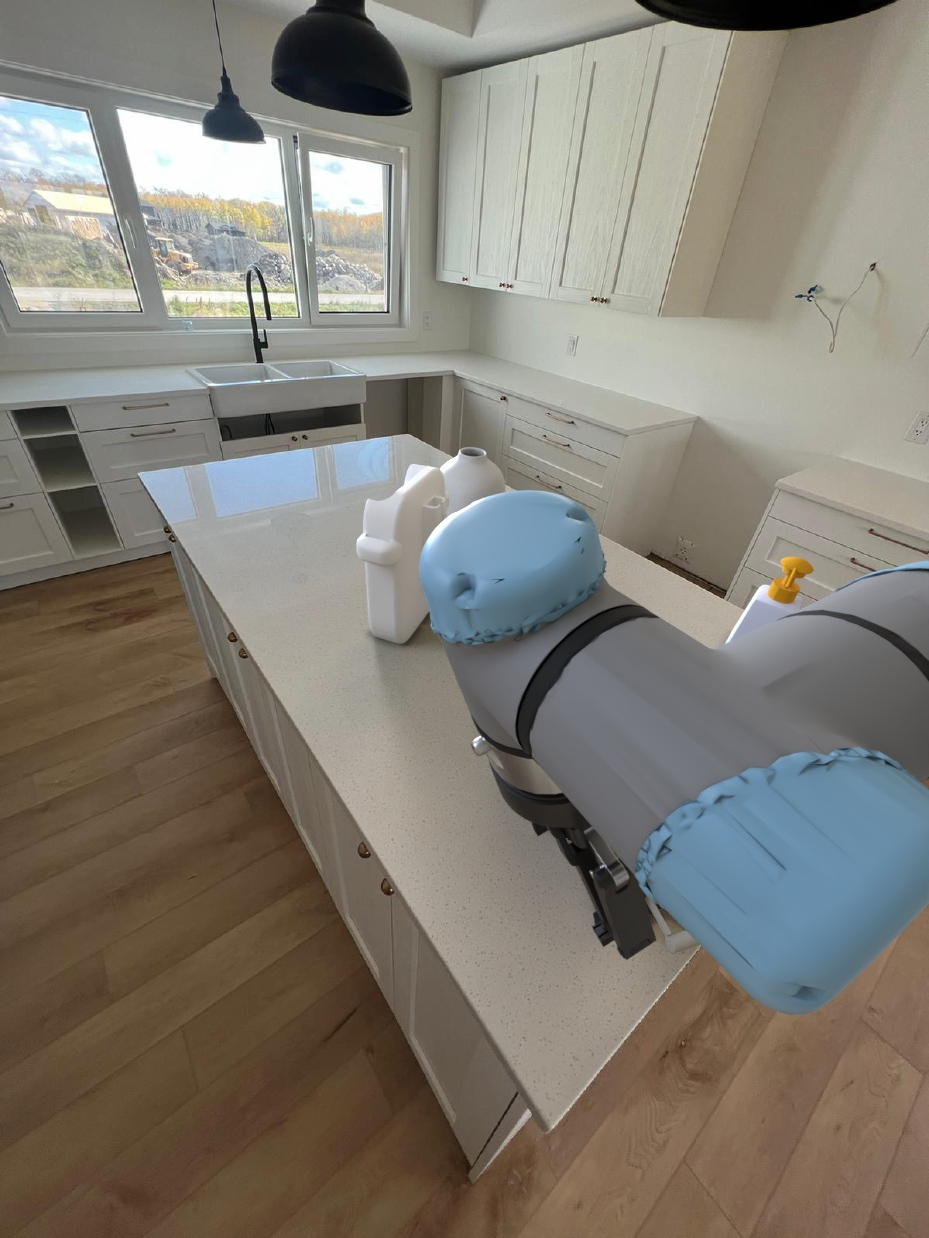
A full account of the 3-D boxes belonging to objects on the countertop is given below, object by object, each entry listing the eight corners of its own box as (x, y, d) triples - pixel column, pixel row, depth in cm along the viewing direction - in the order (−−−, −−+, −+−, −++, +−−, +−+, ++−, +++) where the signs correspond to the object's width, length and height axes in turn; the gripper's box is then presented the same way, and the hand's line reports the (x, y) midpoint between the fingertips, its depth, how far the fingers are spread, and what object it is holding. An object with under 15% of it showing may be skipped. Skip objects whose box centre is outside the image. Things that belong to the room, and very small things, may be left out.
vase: (505, 559, 128) (517, 466, 113) (437, 562, 125) (441, 466, 110) (490, 527, 141) (499, 439, 126) (428, 529, 138) (431, 439, 123)
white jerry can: (409, 665, 95) (410, 518, 77) (356, 648, 98) (344, 502, 80) (461, 589, 116) (471, 459, 98) (416, 577, 119) (417, 448, 100)
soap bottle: (713, 665, 101) (760, 569, 87) (731, 632, 110) (776, 540, 97) (764, 688, 97) (822, 591, 83) (779, 652, 106) (833, 558, 92)
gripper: (424, 654, 38) (486, 795, 53) (609, 972, 22) (622, 1044, 37) (512, 609, 39) (548, 759, 54) (749, 880, 23) (706, 986, 38)
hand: (578, 875), depth 46 cm, fingers open, 10 cm apart
